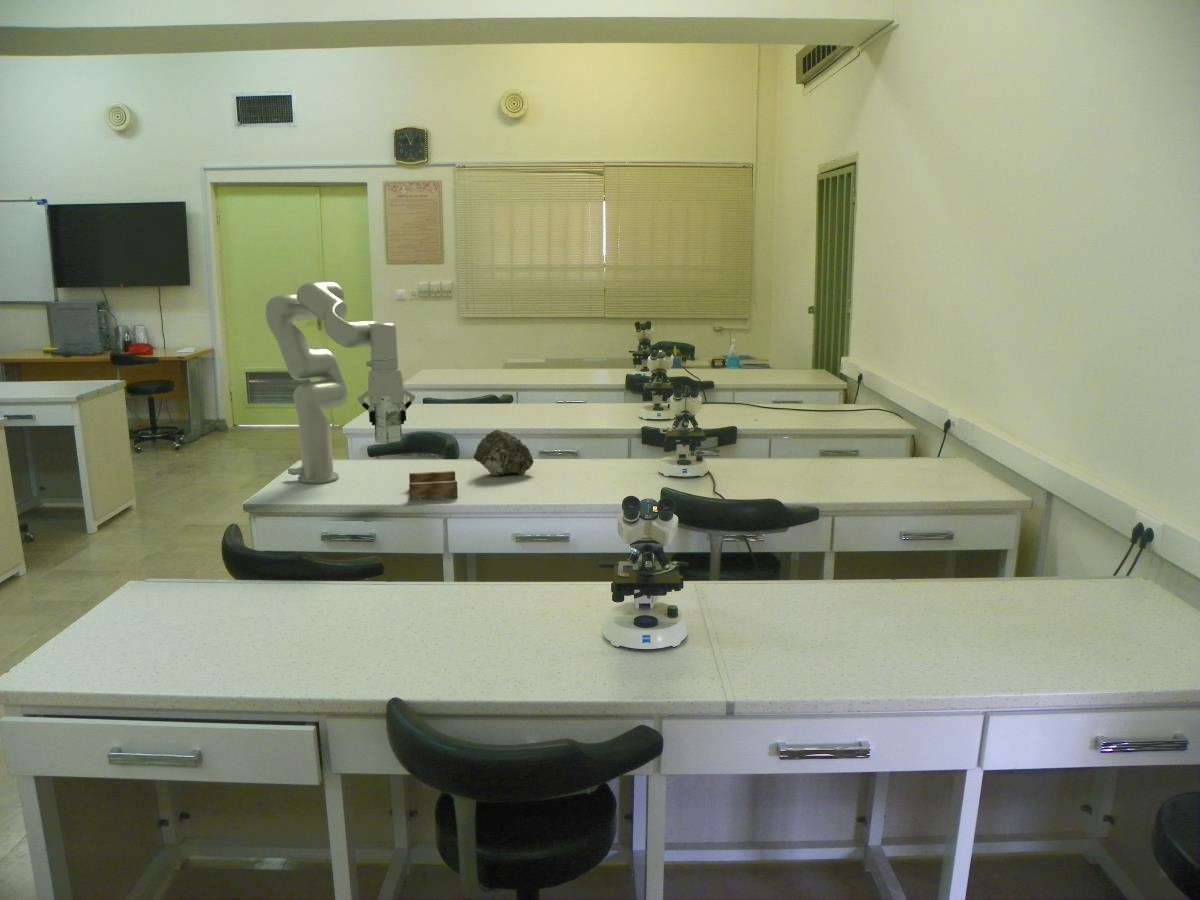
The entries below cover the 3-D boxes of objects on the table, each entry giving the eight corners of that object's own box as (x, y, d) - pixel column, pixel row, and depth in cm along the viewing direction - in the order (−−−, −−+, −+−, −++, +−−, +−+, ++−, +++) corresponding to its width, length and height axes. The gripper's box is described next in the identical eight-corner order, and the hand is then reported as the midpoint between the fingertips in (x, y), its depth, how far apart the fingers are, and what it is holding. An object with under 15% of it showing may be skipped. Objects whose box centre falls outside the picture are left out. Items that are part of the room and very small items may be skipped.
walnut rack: (409, 500, 269) (409, 484, 268) (409, 488, 282) (409, 473, 281) (457, 498, 272) (457, 481, 271) (455, 486, 285) (454, 470, 284)
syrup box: (390, 439, 275) (388, 391, 272) (403, 441, 271) (400, 393, 268) (375, 442, 271) (372, 394, 268) (387, 444, 267) (384, 396, 264)
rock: (495, 427, 290) (499, 411, 304) (466, 458, 294) (471, 441, 308) (538, 463, 295) (540, 445, 309) (509, 493, 299) (513, 474, 313)
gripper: (353, 367, 261) (357, 427, 265) (414, 365, 264) (417, 425, 268) (355, 364, 268) (358, 423, 272) (415, 362, 271) (418, 420, 275)
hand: (388, 423), depth 270 cm, fingers closed on syrup box, 8 cm apart
